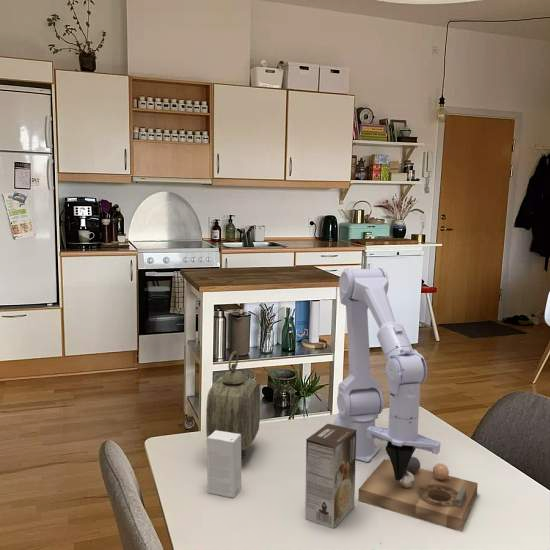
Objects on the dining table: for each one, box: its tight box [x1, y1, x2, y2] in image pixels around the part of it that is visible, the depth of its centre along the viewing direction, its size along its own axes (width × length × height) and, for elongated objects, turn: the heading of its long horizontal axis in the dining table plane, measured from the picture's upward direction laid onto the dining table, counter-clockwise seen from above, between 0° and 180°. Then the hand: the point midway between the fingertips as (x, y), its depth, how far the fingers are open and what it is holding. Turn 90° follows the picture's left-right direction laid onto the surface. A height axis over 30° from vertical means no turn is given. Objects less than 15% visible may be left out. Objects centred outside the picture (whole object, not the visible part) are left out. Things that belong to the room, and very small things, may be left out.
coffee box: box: [304, 423, 357, 529], centre depth 107 cm, size 9×6×16 cm
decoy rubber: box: [407, 456, 421, 472], centre depth 119 cm, size 3×3×3 cm
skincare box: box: [206, 430, 242, 498], centre depth 115 cm, size 6×4×12 cm
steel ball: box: [399, 471, 415, 488], centre depth 113 cm, size 3×3×3 cm
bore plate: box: [357, 458, 479, 532], centre depth 114 cm, size 20×15×4 cm
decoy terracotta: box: [432, 463, 450, 480], centre depth 116 cm, size 3×3×3 cm
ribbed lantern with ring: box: [205, 350, 261, 458], centre depth 129 cm, size 14×9×25 cm, turn 168°
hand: (400, 478), depth 113 cm, fingers closed, pressing on steel ball
